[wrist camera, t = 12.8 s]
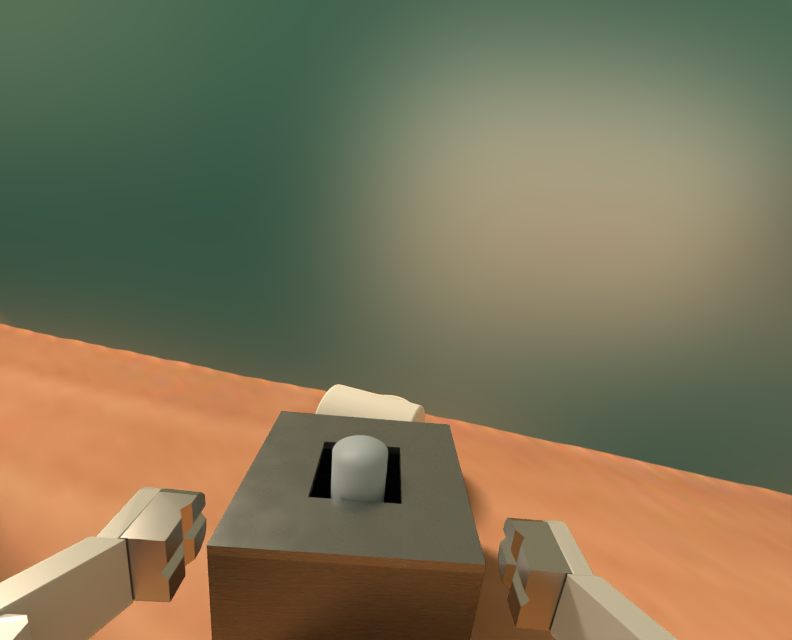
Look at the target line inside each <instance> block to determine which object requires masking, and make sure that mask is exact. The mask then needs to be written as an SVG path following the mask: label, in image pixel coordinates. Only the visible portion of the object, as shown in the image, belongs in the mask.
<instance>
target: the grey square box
mask: <svg viewBox="0 0 792 640" xmlns="http://www.w3.org/2000/svg"><path fill="white" fill-rule="evenodd" d="M354 435H365V436H371V437H374V438H376V439H378V440H380V441H381V442H383V443H384V444H385V446H386V447H387V449H388V461H387V473H386V484H385V495H384V503H382V502H369V501H355V500H342V499H331V473H332V450H333V447H334V446H335V444H336V443H337V442H338V441H340V440H341V439H343V438H346V437H349V436H354ZM207 559H208V577H209V595H210V612H211V630H212V640H470V637H471V632H472V628H473V623H474V618H475V613H476V608H477V604H478V599H479V594H480V589H481V584H482V580H483V575H484V570H485V565H486V564H485V560H484V556H483V553H482V549H481V545H480V541H479V537H478V533H477V530H476V526H475V522H474V518H473V514H472V510H471V507H470V503H469V499H468V495H467V491H466V487H465V484H464V480H463V476H462V472H461V468H460V464H459V461H458V457H457V453H456V449H455V445H454V441H453V438H452V434H451V430H450V426H449V425H447V424H434V423H422V422H410V421H397V420H385V419H373V418H360V417H348V416H336V415H323V414H311V413H298V412H286V411H281V413H280V415H279V417H278V418H277V420H276V422H275V424H274V426H273V427H272V429H271V431H270V433H269V435H268V436H267V438H266V440H265V442H264V443H263V445H262V447H261V449H260V451H259V452H258V454H257V456H256V458H255V460H254V461H253V463H252V465H251V467H250V469H249V470H248V472H247V474H246V476H245V478H244V479H243V481H242V483H241V485H240V487H239V488H238V490H237V492H236V494H235V496H234V497H233V499H232V501H231V503H230V504H229V506H228V508H227V510H226V512H225V513H224V515H223V517H222V519H221V521H220V522H219V524H218V526H217V528H216V530H215V531H214V533H213V535H212V537H211V539H210V540H209V542H208V544H207Z"/></svg>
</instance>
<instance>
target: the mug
mask: <svg viewBox="0 0 792 640" xmlns="http://www.w3.org/2000/svg"><path fill="white" fill-rule="evenodd" d="M315 414H323V415H336V416H348V417H360V418H373V419H385V420H397V421H410V422H422V423H424V419H425V412H424V408H423V406H421V405H418V404H414V403H410V402H409V401H407V400H405V399H403V398H401V397H398V396H393V395H379V394H375V393H371V392H367V391H363V390H359V389H355V388H351V387H348V386H344V385H339V384H338V385H335V386H333V387H332V388H330V389H329V390H328V391H327V393H326V394H325V395H324V397H323V398H322V400H321V402H320V404H319V406H318V408H317V410H316V413H315Z"/></svg>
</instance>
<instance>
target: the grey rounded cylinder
mask: <svg viewBox="0 0 792 640" xmlns="http://www.w3.org/2000/svg"><path fill="white" fill-rule="evenodd" d="M387 461H388V449H387V447H386V446H385V444H384V443H383V442H381V441H380V440H378V439H376V438H374V437H371V436H365V435H354V436H349V437H346V438H343V439H341V440H340V441H338V442H337V443H336V444H335V446H334V447H333V450H332V473H331V499H342V500H355V501H369V502H382V503H384V495H385V484H386V473H387Z"/></svg>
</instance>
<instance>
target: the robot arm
mask: <svg viewBox="0 0 792 640" xmlns="http://www.w3.org/2000/svg"><path fill="white" fill-rule="evenodd" d="M205 505H206V504H205V494H203V493H201V492H192V491H183V490H174V489H160V488H152V487H144V488H142V489H140V490H139V491H138V492H137V493H136V494H135V495H134V496H133V497H132V498H131V499H130V500H129V501H128V502H127V504H126V505H125V506H124V507H123V508H122V509H121V510H120V511H119V512H118V513H117V514H116V515H115V517H114V518H113V519H112V520H111V521H110V522H109V523H108V524H107V525H106V526H105V527H104V528H103V530H102V531H101V532H100V533H99V534H98V535H97V536H96V537H88V538H86V539H84V540H82V541H80V542H78V543H76V544H74V545H72V546H70V547H68V548H66V549H64V550H62V551H60V552H59V553H57V554H55V555H53V556H51V557H49V558H47V559H45V560H43V561H41V562H39V563H37V564H35V565H33V566H32V567H30V568H28V569H26V570H24V571H22V572H20V573H18V574H16V575H14V576H12V577H10V578H8V579H6V580H4V581H3V582H1V583H0V640H88V639H89V638H90V637H92V636H93V635H94V634H95V633H96V632H98V631H99V630H100V629H101V628H103V627H104V626H105V625H106V624H107V623H109V622H110V621H111V620H112V619H114V618H115V617H116V616H117V615H119V614H120V613H121V612H122V611H123V610H125V609H126V608H127V607H128V606H130V605H131V604H132V603H133V601H155V602H170V601H171V600H172V598H173V596H174V595H175V593H176V591H177V589H178V588H179V586H180V584H181V582H182V581H183V579H184V577H185V566H186V565H187V564H189V563H190V562H192V561H193V560H194V559H195V558H196V556H197V554H198V553H199V551H200V549H201V546H202V543H203V540H204V537H205V533H206V518H205V517H204V516H203V514H202V513H201V511H202V510H203V508H204V507H205ZM503 530H504V533H505V536H506V538H505V539H504V540H503V541H501V542H500V547H499V552H498V564H499V571H500V575H501V579H502V583H503V584H504V585H505V586H506V587H507V588H508V589H509V590H510V592H509V596H508V603H509V607H510V610H511V613H512V617H513V620H514V623H515V627H516V628H525V629H535V630H544V631H550V634H551V635H552V636H553V638H554V639H555V640H677V639H676V638H675V637H674V636H672V635H671V634H670V633H669V632H668V631H666V630H665V629H664V628H663V627H661V626H660V625H659V624H658V623H657V622H655V621H654V620H653V619H652V618H650V617H649V616H648V615H647V614H646V613H644V612H643V611H642V610H641V609H639V608H638V607H637V606H636V605H635V604H633V603H632V602H631V601H630V600H628V599H627V598H626V597H625V596H624V595H622V594H621V593H620V592H619V591H618V590H616V589H615V588H614V587H613V586H611V585H610V584H609V583H608V582H607V581H605V580H604V579H603V578H602V577H600V576H595V575H594V574H593V572H592V570H591V568H590V566H589V565H588V563H587V561H586V559H585V558H584V556H583V554H582V552H581V550H580V549H579V547H578V545H577V543H576V541H575V540H574V538H573V536H572V534H571V532H570V531H569V529H568V527H567V525H566V524H565V523H564V522H563V521H548V520H544V521H542V520H531V519H518V518H507V520H506V521H505V525H504V529H503Z"/></svg>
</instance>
